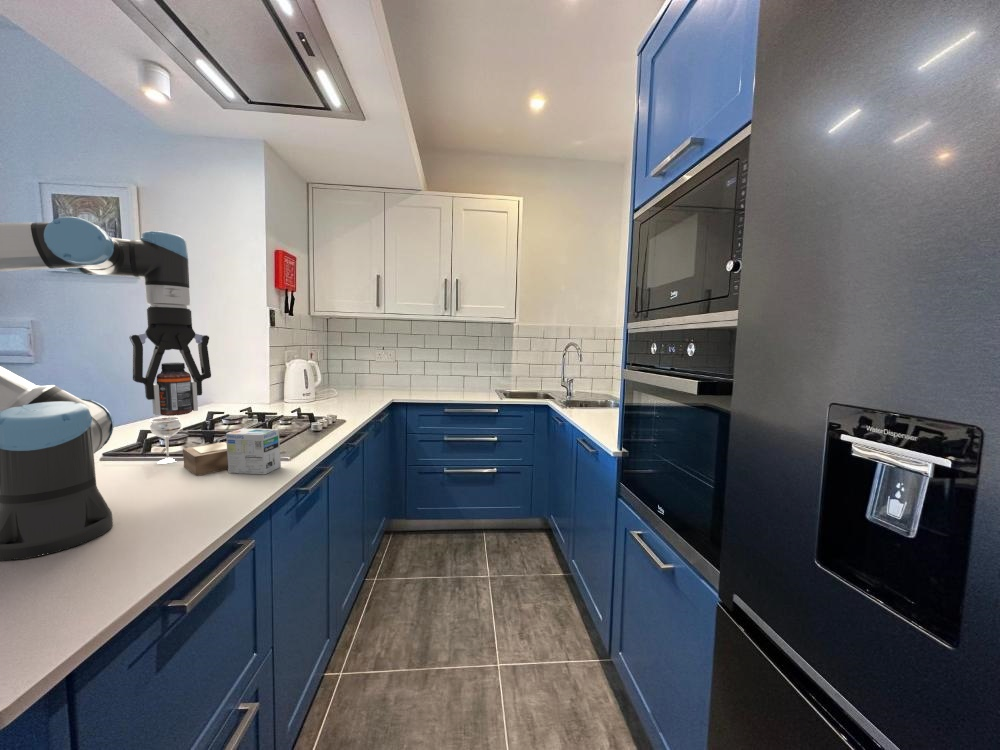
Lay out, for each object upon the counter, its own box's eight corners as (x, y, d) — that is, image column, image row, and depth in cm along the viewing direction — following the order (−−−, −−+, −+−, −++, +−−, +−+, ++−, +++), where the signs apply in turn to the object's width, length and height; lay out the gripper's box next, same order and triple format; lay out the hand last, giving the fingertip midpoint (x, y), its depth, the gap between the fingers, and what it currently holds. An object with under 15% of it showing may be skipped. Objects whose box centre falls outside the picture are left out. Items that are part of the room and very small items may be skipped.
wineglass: (146, 463, 113) (143, 420, 112) (172, 456, 120) (169, 416, 119) (163, 465, 111) (160, 422, 110) (189, 458, 118) (186, 417, 117)
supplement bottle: (153, 414, 89) (149, 363, 88) (184, 410, 94) (181, 361, 93) (167, 417, 86) (163, 364, 85) (198, 412, 92) (195, 362, 91)
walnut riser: (196, 475, 104) (194, 455, 103) (183, 466, 111) (182, 447, 110) (244, 465, 112) (243, 447, 112) (230, 457, 119) (229, 440, 119)
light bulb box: (281, 467, 111) (280, 428, 110) (265, 475, 105) (263, 434, 104) (245, 465, 112) (243, 427, 111) (226, 473, 106) (224, 432, 105)
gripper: (112, 303, 79) (121, 420, 81) (225, 309, 93) (230, 408, 95) (106, 304, 83) (115, 415, 86) (215, 310, 98) (220, 404, 100)
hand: (176, 411), depth 90 cm, fingers closed on supplement bottle, 6 cm apart
